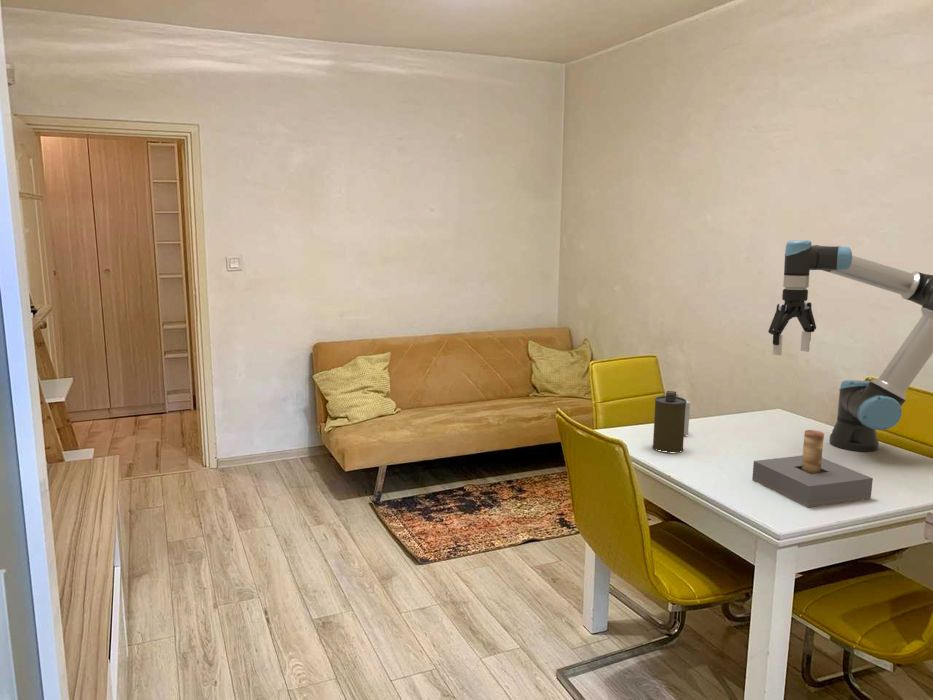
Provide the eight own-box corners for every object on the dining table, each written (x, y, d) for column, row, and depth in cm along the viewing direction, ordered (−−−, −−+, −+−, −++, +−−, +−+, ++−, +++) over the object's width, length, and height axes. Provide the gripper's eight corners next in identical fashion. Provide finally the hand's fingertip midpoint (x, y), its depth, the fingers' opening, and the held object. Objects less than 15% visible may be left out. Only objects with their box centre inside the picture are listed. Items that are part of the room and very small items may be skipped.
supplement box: (688, 436, 257) (690, 402, 255) (668, 436, 257) (669, 402, 255) (682, 430, 265) (684, 397, 262) (662, 430, 265) (664, 397, 263)
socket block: (811, 472, 220) (813, 454, 219) (870, 498, 199) (872, 478, 198) (752, 479, 213) (753, 460, 212) (807, 507, 193) (809, 486, 192)
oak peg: (810, 481, 209) (814, 429, 206) (823, 487, 204) (828, 434, 202) (796, 483, 208) (800, 430, 205) (809, 489, 203) (813, 435, 200)
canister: (681, 455, 236) (685, 396, 233) (650, 451, 240) (653, 393, 237) (685, 446, 246) (688, 389, 243) (654, 442, 250) (657, 387, 247)
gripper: (810, 286, 239) (806, 348, 242) (759, 289, 227) (755, 354, 231) (830, 287, 232) (826, 351, 236) (779, 291, 221) (774, 358, 224)
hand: (791, 353), depth 233 cm, fingers open, 13 cm apart
